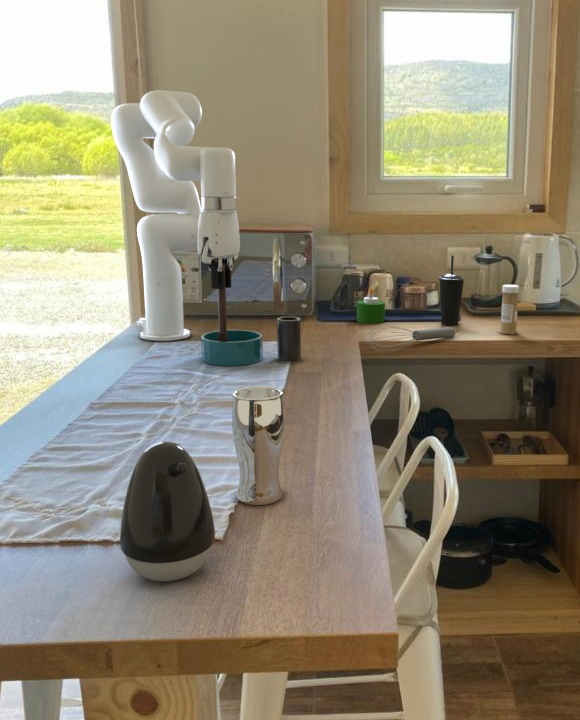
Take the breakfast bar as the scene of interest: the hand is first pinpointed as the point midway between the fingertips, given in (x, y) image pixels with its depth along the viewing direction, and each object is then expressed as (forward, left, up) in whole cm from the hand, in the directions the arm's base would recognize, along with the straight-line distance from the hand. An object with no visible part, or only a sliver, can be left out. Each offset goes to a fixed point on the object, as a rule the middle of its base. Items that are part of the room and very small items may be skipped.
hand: (221, 287), depth 182 cm
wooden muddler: (0, 0, -15) cm, 15 cm away
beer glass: (+52, -61, -17) cm, 82 cm away
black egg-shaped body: (+55, -83, -17) cm, 101 cm away
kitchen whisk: (+31, +39, -17) cm, 53 cm away
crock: (+13, +8, -17) cm, 23 cm away
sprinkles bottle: (+48, +66, -17) cm, 83 cm away
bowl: (+2, +1, -17) cm, 17 cm away
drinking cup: (+29, +70, -17) cm, 78 cm away
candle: (+7, +62, -17) cm, 65 cm away
